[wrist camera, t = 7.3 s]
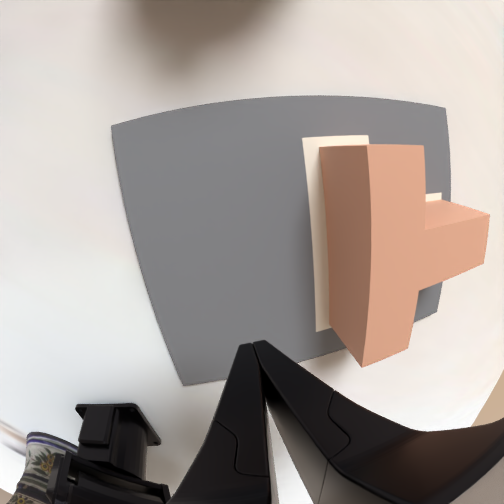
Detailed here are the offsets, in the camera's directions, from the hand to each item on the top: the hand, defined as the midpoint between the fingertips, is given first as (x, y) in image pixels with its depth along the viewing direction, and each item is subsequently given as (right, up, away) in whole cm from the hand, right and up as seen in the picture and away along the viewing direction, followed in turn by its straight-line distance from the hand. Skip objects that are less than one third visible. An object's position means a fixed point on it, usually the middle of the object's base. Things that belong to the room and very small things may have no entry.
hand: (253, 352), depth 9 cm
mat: (+5, +4, +9) cm, 11 cm away
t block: (+10, +5, +9) cm, 14 cm away
